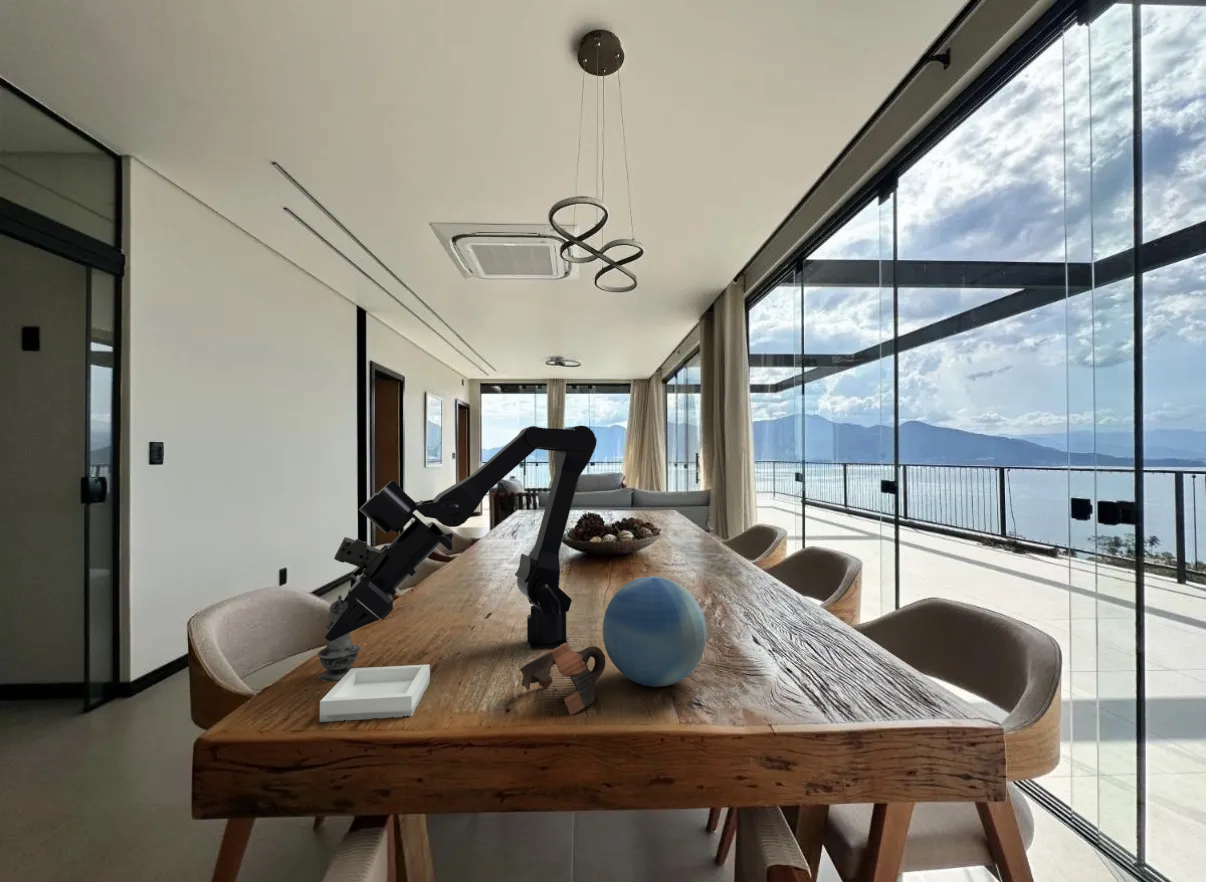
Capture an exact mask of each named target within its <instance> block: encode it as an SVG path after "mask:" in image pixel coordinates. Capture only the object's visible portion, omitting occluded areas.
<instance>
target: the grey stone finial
mask: <svg viewBox="0 0 1206 882" xmlns="http://www.w3.org/2000/svg"><path fill="white" fill-rule="evenodd" d="M342 598H343V597H342V595H341V594H339V595H338V596H337V600H336V601H334V602H332V603H331V604H330V605H329V609H328V610H329V615H328V617H329V618H328V625H326V627H325V628H326V630H328V631H329V630H330V628H331V627H332V626H333V624H334V623H335V621H336V620H337V619H338V617H339V616H340V615H341V613H342V612H343V610H344V609H345V608H346V606H347V605H348V602H346V601H343V600H344V599H342ZM360 649H361V647H360V646H359V645H357V644H355V643H354V644H353V643H352V640H351V632H350V633H348V634H346V635H343V636H341V637H339V638H337V639H335V640H333V641H328V640H327V644H326V646H325V648H323V649H321V650H319V651H318V652H317V657H318V658H319V662H320V664H321V667H323V668H325V670H324V671H323V672H322V673H321V674H320V675H319V677H318V678H319V680H320V681H323V682H337V681H338V682H339V681H340V680H341V679H342V678H343V677H344V676H345V675H346V674H347V673H348V672H349V670H350V669H351V668H355V667H354V666H352V665H353V664H354V663H355V662H356V661H357V657H358V656H359V655H358V654H359V651H361V650H360Z"/></svg>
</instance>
